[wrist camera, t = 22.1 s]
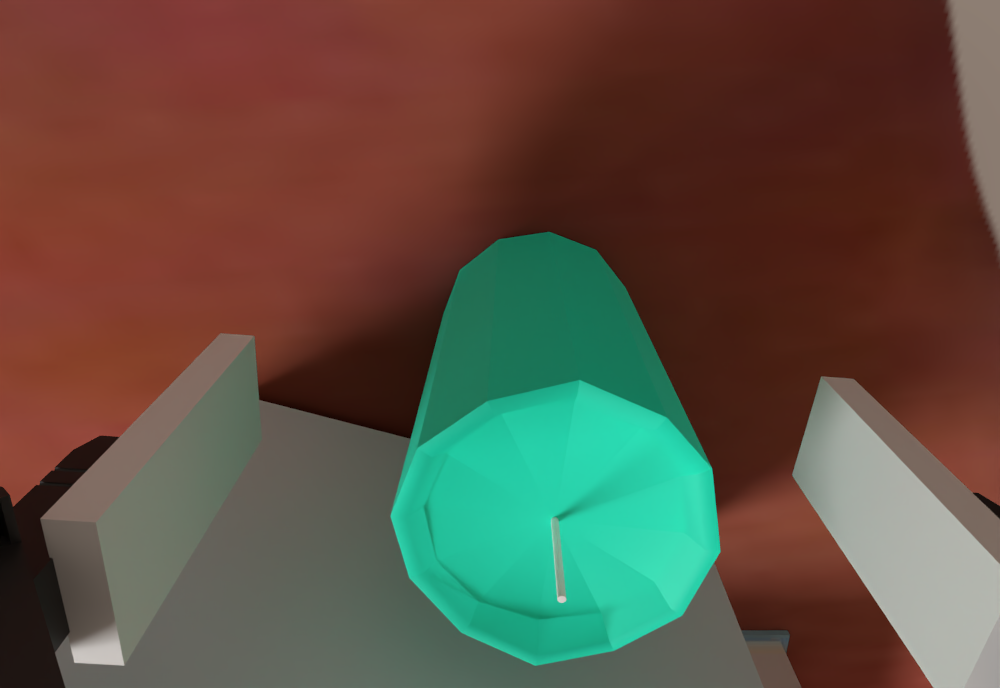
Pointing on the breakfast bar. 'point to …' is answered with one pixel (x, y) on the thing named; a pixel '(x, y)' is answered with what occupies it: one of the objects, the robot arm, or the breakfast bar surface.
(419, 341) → the breakfast bar surface
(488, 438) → the candle
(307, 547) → the door
